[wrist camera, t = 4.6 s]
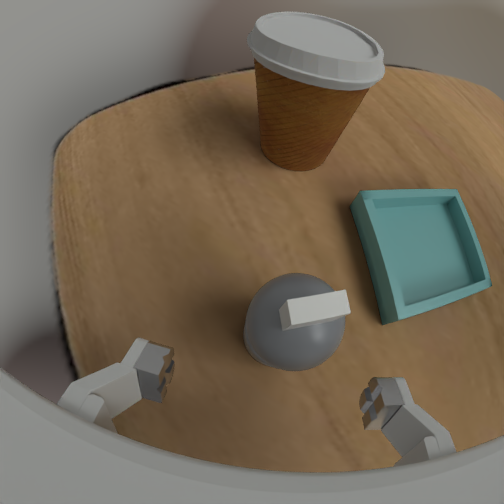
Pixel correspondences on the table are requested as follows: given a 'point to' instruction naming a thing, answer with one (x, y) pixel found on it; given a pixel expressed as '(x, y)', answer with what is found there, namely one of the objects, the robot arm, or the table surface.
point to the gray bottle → (295, 322)
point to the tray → (418, 249)
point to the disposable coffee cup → (309, 83)
